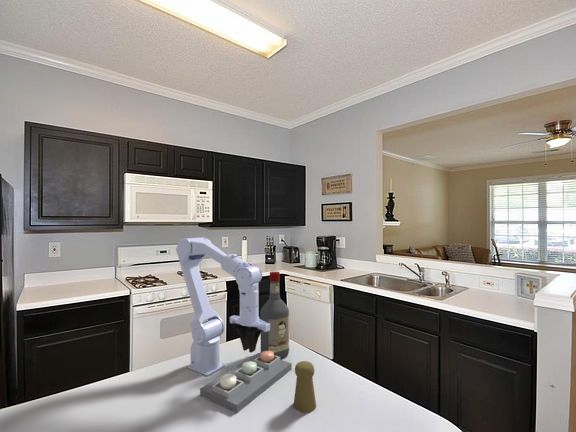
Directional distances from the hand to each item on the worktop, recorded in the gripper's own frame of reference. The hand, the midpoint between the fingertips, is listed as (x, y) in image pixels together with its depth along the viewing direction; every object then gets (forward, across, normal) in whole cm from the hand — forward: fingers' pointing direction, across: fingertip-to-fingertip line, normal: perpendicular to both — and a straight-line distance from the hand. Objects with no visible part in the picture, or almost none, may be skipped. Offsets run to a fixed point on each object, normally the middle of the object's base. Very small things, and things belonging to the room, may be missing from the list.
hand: (249, 350), depth 89 cm
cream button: (+6, 0, +9) cm, 11 cm away
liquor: (+10, +4, -19) cm, 22 cm away
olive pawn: (+10, -20, +1) cm, 22 cm away
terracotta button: (+6, 0, -9) cm, 11 cm away
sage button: (+6, 0, 0) cm, 6 cm away
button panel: (+9, 0, 0) cm, 9 cm away
